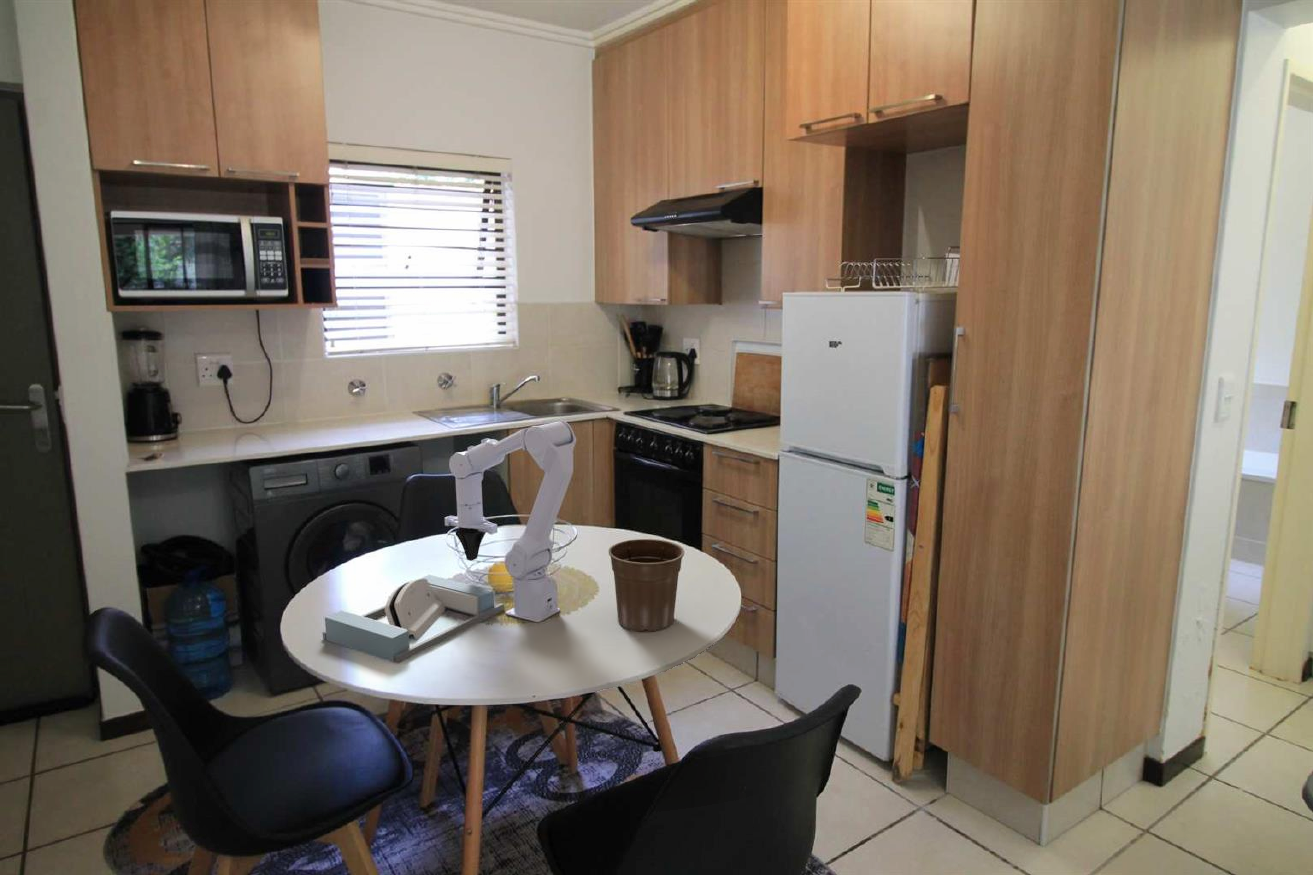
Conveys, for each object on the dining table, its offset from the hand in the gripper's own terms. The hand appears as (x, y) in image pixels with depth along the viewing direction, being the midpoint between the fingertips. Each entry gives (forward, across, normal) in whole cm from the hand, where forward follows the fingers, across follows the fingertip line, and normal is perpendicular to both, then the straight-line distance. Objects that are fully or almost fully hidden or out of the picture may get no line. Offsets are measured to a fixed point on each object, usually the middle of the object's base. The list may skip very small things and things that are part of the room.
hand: (472, 559), depth 183 cm
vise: (+9, 0, +17) cm, 20 cm away
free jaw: (+9, 0, +6) cm, 11 cm away
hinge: (+10, +1, +17) cm, 20 cm away
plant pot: (+10, -42, -9) cm, 44 cm away
